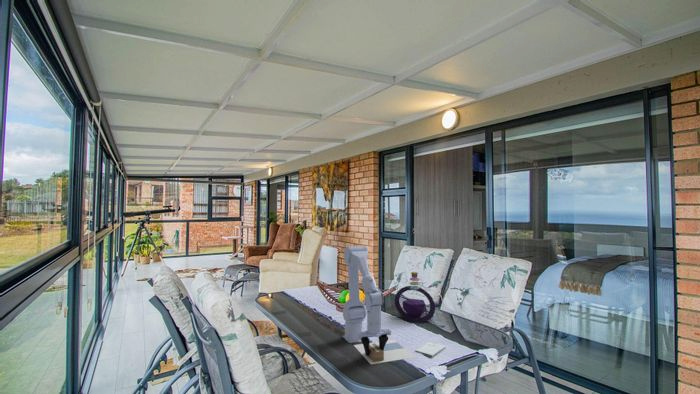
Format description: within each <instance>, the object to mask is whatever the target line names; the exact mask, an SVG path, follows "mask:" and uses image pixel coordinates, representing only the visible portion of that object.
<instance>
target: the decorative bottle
mask: <svg viewBox="0 0 700 394" xmlns="http://www.w3.org/2000/svg"><path fill="white" fill-rule="evenodd" d="M418 273H419V272H417V271H411V272H410V274H411V277H410V278H409V281H410V282H409V285H408V286H403V287H402V288H400V289H399V290H397V292H396V293H395V296H394V306H395V308H396V310H397V312H398V313H399V315H400V316H402V317H403V318H404V319H405V320H408V321H410V322H412V323H419V324H420V323H425V322H428V321H430V320H431V319H432V318H433V317H434V314H435V312H436V303H435V300H434V299H433V297H432V296H431V294H430V293H429V292H427V290H426V289H423V288H421V287H419V285H420V283H419V281H420V278H419V277H418V275H419V274H418ZM408 291H417V292H419V293H421V294H422V295H424V296H425V297H426V299H427V300H428V303H429V310H427V307H426V302H425V301H424V300H425V299H418V298H417V299H416V298H409V297H407V296H405V295H404V293H406V292H408ZM401 297H403V298H404V299H405V300H403V301H402V307H401V304H400V299H401ZM425 312H426V313H427V314H426V315H423V314H425Z"/></svg>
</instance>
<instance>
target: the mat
mask: <svg viewBox="0 0 700 394" xmlns="http://www.w3.org/2000/svg"><path fill="white" fill-rule="evenodd" d="M374 343H375V344H376V345H377V346H378V347H379V341H375V342H370V344H374ZM353 346H354V347H355V349H356V350H357V351H358V352H359V353H360V354H361V356H363V357H364V359H365V360H366V361H367V362H368V363H369V364H370V365H376V364H380V363H382V364H383V363H388V362H394V361H400V360H406V359H412V358H416V356H415V355H414V354H413V353H411V352H410V350H408V349H406V348H405V347H404V346H403V345H401V344H400V343H399V342H398V341H397V340H396V339H388V341H387V342H386V344H385V347H384V360H383V361H377V362H373V361H372V360H371V359H370V358H369V357H368V356H366V354H365V349H364V346H363V343H359V344H354V345H353Z"/></svg>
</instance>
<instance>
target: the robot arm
mask: <svg viewBox="0 0 700 394" xmlns="http://www.w3.org/2000/svg"><path fill="white" fill-rule="evenodd" d="M343 250H344V251H343V257H344V258H343V259H344V264H346V265H347V278H348V280H347V282H348V300H347V301H346V302H345V303H343V309H342V316H343V319H344V321H345V322H344V335H342V338H343V339H344V340H345V341H347V343H349V344H352V343H359V342H360V343H361V344H363V346H364V349H365V354H366V356H369V344H370V343H371V341H370V340H369V338H377V337H378V342H379V348H380V349H381V350H383V351H384V347H385V344H386V342H387V341H388V340H389V336H392V330H391V329H389V328H383V329H382V306H383V305H384V299H385V298H384V294H383V292H382V291H381V290H380V288H378V285H377V282H376V280H375V277H374V276H373V275H371V272H370V268H369V264H368V257H369V250H368V247H367V246H366V245H357V246H356V245H354V246H353V245H351V246H349V245H347V246H345V248H344V249H343ZM359 273H360V275H359ZM360 276H361V277H362V278H361V281H360V279H359V278H360ZM359 281H360V282H359ZM360 283H361V285H362V288H363V292H364V301H362V300H361V299H360V297H361V296H360ZM366 316H367V317H366ZM365 318H366V330H364V331H363V322H364V321H365Z"/></svg>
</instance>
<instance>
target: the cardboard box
mask: <svg viewBox="0 0 700 394" xmlns="http://www.w3.org/2000/svg"><path fill="white" fill-rule="evenodd" d="M368 357H369V358H370V359H371V360H372V361H373V362H377V361H383V360H384V351H383V350H381V349H380V348H379V347H378V346H377V345H376V344H375V343H374V344H369V356H368Z"/></svg>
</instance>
